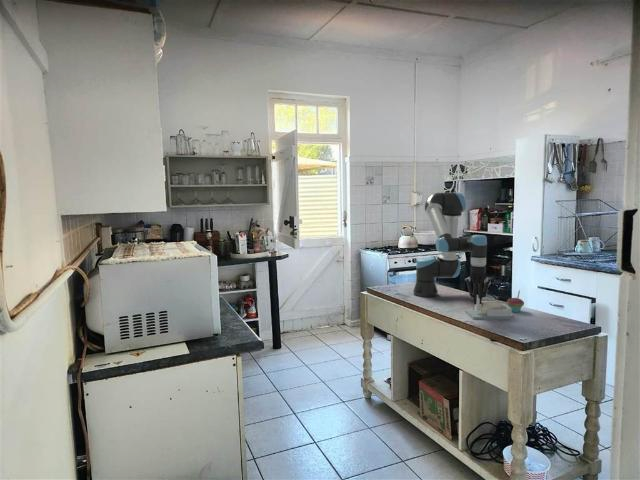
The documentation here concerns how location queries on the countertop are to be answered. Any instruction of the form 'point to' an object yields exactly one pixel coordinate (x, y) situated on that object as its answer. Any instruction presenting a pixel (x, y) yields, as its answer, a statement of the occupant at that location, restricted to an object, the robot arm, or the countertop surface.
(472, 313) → the rail board
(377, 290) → the countertop surface
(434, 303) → the countertop surface
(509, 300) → the cupcake
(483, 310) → the panel block
